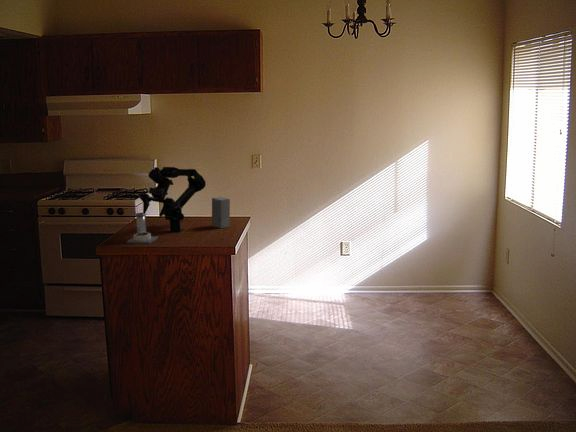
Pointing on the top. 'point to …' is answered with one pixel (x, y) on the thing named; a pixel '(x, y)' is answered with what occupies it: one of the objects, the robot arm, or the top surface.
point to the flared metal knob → (141, 224)
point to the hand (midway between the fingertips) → (151, 215)
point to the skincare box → (220, 212)
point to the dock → (142, 239)
